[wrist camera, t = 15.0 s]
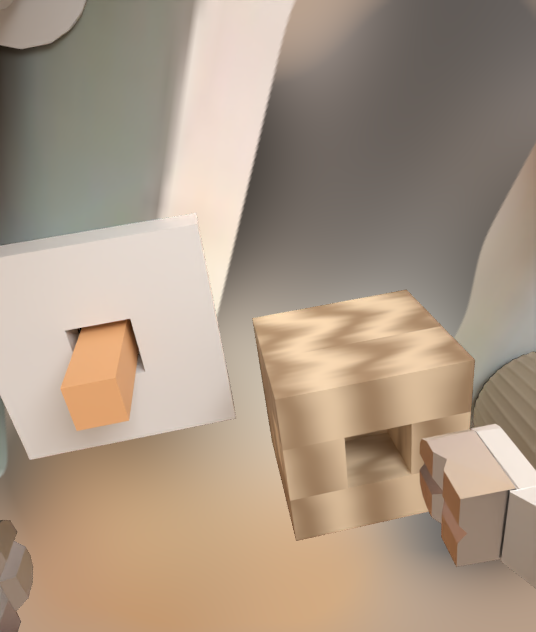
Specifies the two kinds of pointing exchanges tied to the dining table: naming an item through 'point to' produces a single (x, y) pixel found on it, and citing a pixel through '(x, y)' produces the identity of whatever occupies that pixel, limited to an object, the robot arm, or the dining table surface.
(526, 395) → the canister
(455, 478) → the robot arm
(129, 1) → the dining table surface
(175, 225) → the socket plate
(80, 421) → the peg
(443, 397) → the notched wooden cube
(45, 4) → the wireless router
